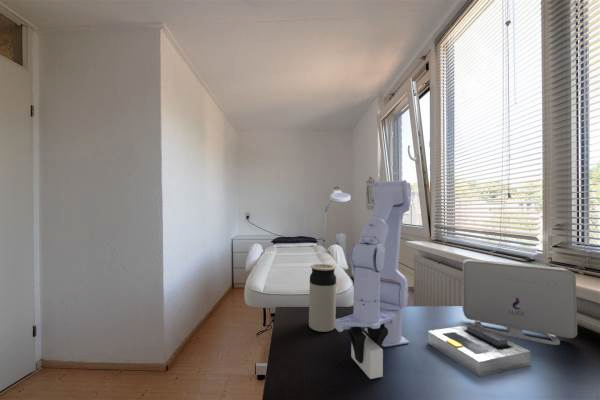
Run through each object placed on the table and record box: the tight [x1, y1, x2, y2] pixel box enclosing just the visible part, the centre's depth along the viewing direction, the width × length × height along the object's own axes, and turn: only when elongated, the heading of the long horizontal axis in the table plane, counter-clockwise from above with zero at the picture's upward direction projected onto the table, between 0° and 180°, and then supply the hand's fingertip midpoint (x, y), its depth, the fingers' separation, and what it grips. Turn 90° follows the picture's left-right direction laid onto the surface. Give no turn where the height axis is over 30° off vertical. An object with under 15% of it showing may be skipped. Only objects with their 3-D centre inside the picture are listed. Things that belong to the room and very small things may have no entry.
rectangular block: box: [350, 331, 384, 380], centre depth 55 cm, size 8×3×6 cm, turn 17°
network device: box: [461, 258, 578, 346], centre depth 75 cm, size 26×9×20 cm, turn 62°
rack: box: [427, 324, 532, 378], centre depth 62 cm, size 14×16×5 cm
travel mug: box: [308, 263, 337, 333], centre depth 75 cm, size 8×8×18 cm
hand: (366, 359), depth 55 cm, fingers closed on rectangular block, 3 cm apart
